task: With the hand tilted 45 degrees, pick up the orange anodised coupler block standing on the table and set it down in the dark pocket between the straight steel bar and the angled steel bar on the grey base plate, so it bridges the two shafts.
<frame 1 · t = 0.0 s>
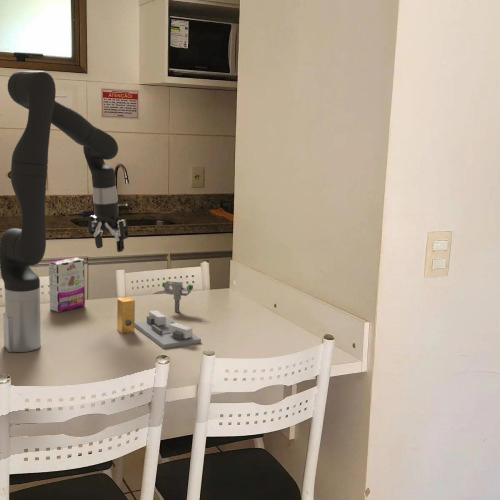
hand: (110, 249, 215), 22 cm above the table, tool pointing down, fingers open, 8 cm apart
coupler: (125, 330, 207), on the table
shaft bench: (166, 334, 205), on the table
candy bar box: (67, 308, 227), on the table
mechanical component: (176, 312, 229), on the table
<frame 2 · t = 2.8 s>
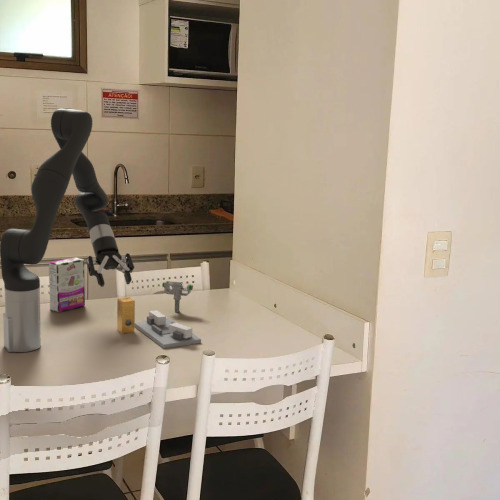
hand: (116, 284, 211), 13 cm above the table, tool tilted 45°, fingers open, 8 cm apart
nothing on the table moved.
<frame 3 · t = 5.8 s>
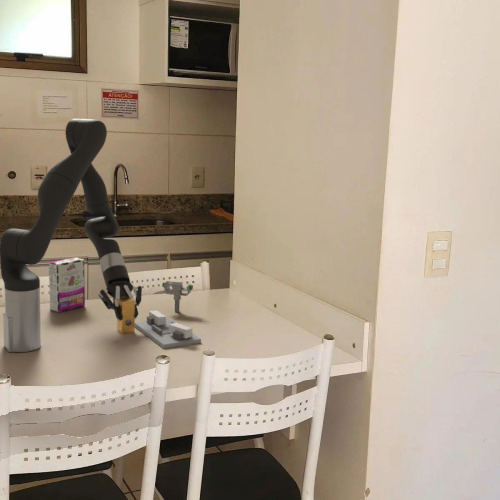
hand: (128, 318, 204), 5 cm above the table, tool tilted 45°, fingers closed on coupler, 4 cm apart
coupler: (125, 330, 207), on the table, touching gripper
everything else where it was.
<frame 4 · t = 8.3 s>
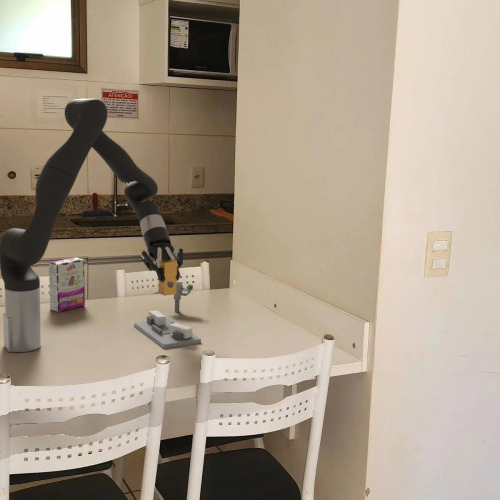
hand: (170, 279, 200), 17 cm above the table, tool tilted 45°, fingers closed on coupler, 4 cm apart
coupler: (167, 293, 203), point 13 cm above the table, touching gripper
everything else where it was.
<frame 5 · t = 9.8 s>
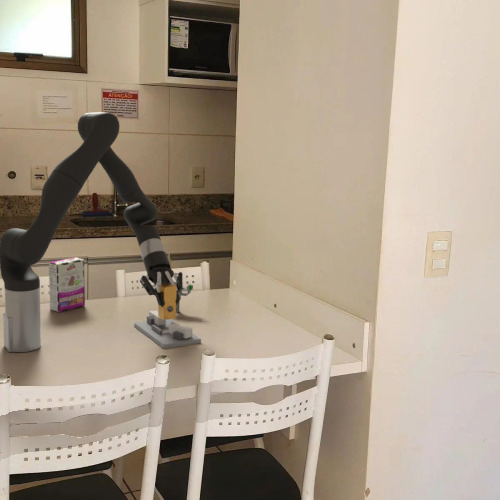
hand: (170, 304, 202), 10 cm above the table, tool tilted 45°, fingers closed on coupler, 4 cm apart
coupler: (166, 317, 204), point 5 cm above the table, touching gripper
everything else where it was.
when the fingers open (7 cm above the table, at t = 10.9 s): coupler drops 1 cm, resting on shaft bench.
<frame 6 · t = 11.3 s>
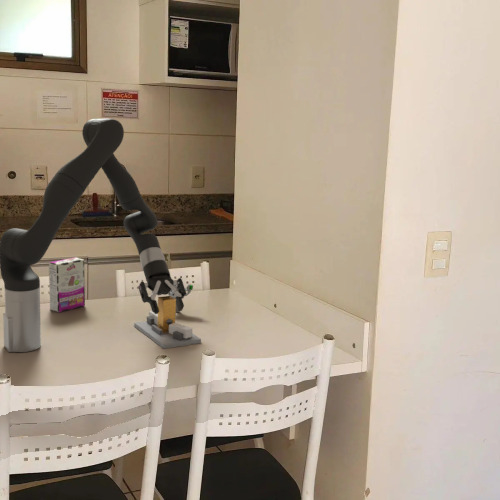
hand: (169, 311, 202), 8 cm above the table, tool tilted 45°, fingers open, 7 cm apart
coupler: (166, 329, 205), point 1 cm above the table, touching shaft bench
everything else where it was.
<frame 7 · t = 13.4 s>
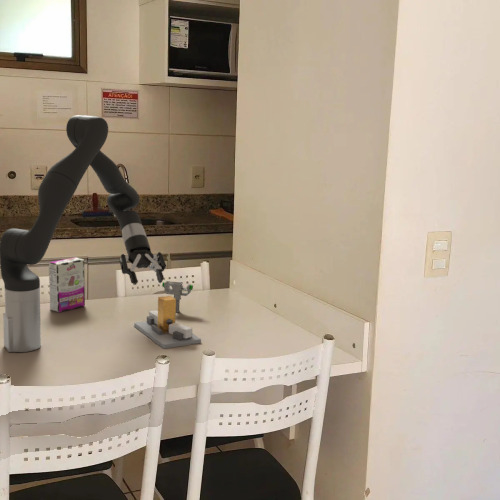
hand: (148, 282, 212), 13 cm above the table, tool tilted 45°, fingers open, 8 cm apart
nothing on the table moved.
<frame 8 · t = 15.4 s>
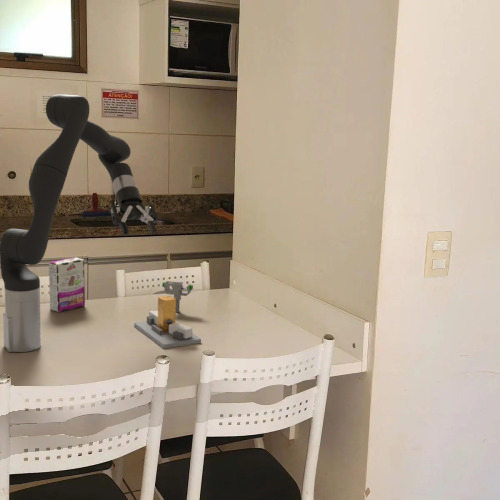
hand: (140, 233, 210), 29 cm above the table, tool tilted 45°, fingers open, 8 cm apart
nothing on the table moved.
at the end: coupler 0.2 cm off-centre on the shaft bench, point 1.4 cm above the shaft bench's base; coupler tilted 0°; the gripper is holding nothing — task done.
